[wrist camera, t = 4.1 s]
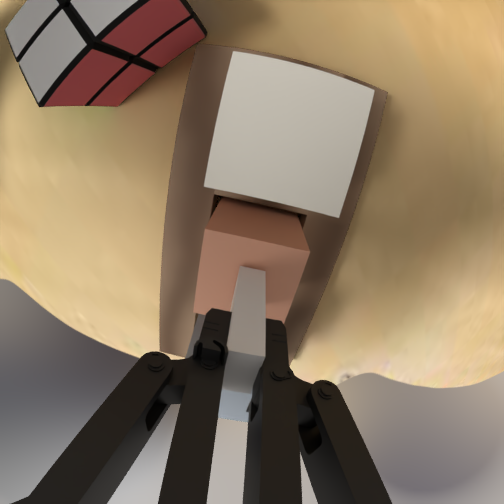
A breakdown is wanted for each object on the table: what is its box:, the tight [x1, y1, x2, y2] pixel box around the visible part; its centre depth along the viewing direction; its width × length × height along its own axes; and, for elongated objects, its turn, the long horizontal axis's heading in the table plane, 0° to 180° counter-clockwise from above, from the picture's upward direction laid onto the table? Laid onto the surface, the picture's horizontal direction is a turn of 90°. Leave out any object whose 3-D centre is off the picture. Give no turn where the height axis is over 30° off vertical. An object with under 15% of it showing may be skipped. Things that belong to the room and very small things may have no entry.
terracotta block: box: [193, 197, 310, 324], centre depth 19 cm, size 6×6×7 cm
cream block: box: [204, 51, 375, 218], centre depth 13 cm, size 6×6×7 cm
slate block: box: [180, 314, 252, 422], centre depth 21 cm, size 6×6×7 cm
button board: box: [160, 44, 388, 366], centre depth 22 cm, size 14×29×2 cm, turn 167°
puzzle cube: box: [5, 0, 207, 107], centre depth 11 cm, size 10×10×10 cm
